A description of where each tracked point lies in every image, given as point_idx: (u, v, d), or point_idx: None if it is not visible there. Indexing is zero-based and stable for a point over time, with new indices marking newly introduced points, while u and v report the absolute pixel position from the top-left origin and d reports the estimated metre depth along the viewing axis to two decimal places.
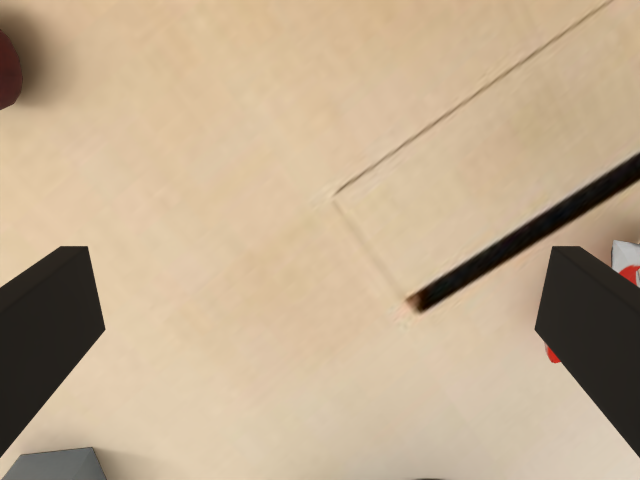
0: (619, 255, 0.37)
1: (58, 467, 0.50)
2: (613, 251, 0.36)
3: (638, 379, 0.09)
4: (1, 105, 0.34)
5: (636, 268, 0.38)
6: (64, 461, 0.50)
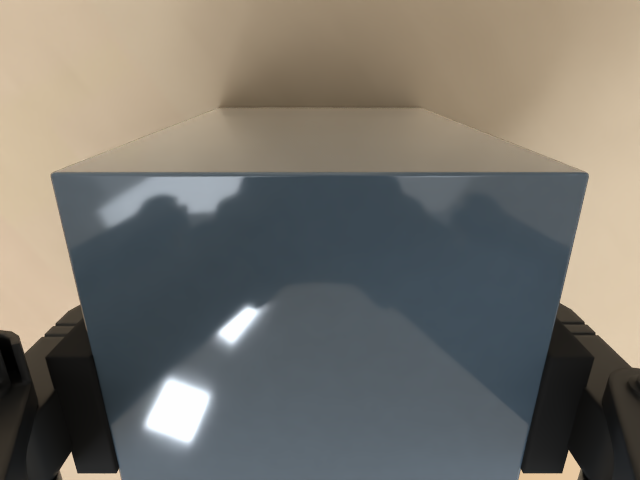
0: None
1: None
2: None
3: None
4: None
5: None
6: None
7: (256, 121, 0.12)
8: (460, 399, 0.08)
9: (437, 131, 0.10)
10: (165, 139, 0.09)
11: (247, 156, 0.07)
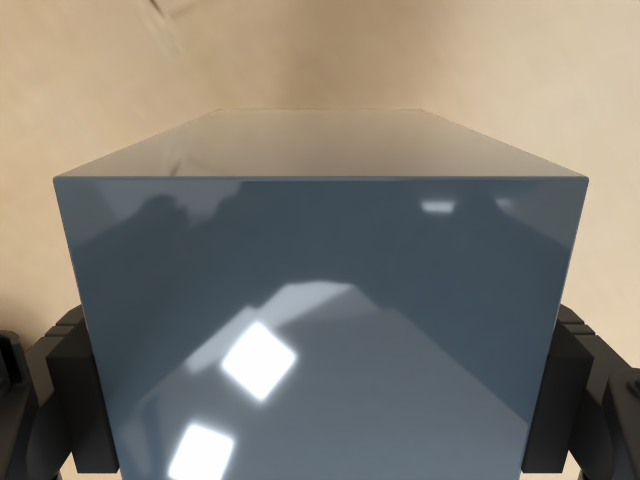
0: None
1: None
2: None
3: None
4: None
5: None
6: None
7: (257, 123, 0.12)
8: (460, 402, 0.08)
9: (437, 134, 0.10)
10: (166, 142, 0.09)
11: (248, 160, 0.07)
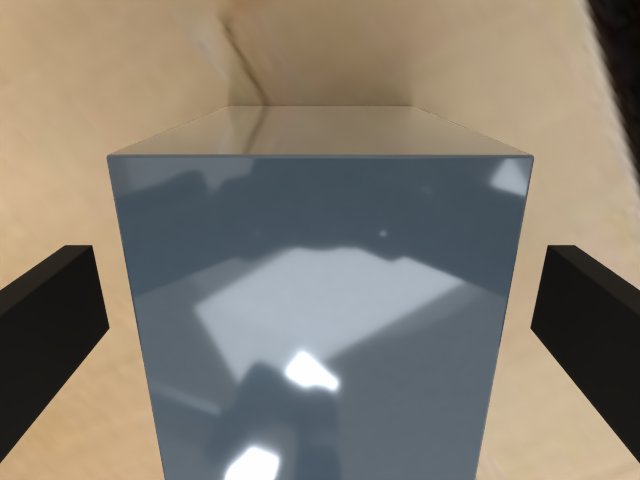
0: None
1: None
2: None
3: (631, 377, 0.09)
4: None
5: None
6: None
7: (264, 117, 0.14)
8: (436, 345, 0.09)
9: (421, 125, 0.12)
10: (189, 131, 0.11)
11: (261, 143, 0.09)
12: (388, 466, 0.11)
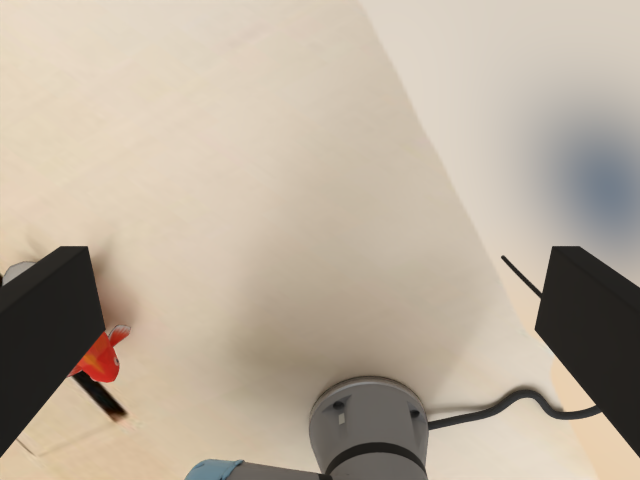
0: None
1: None
2: None
3: (638, 379, 0.09)
4: None
5: None
6: None
7: None
8: None
9: None
10: None
11: None
12: None
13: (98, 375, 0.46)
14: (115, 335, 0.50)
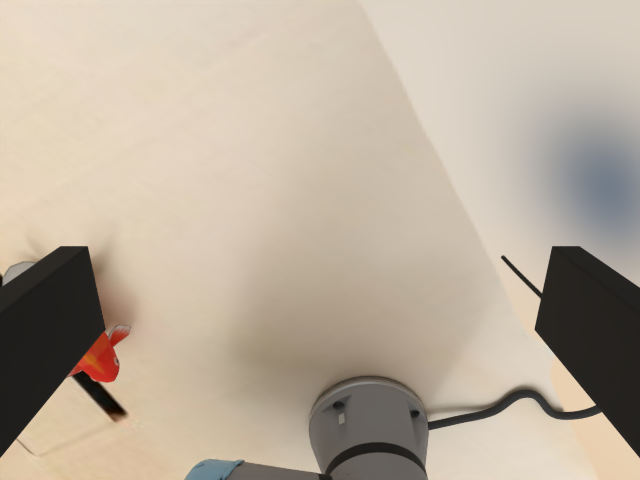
0: None
1: None
2: None
3: (638, 379, 0.09)
4: None
5: None
6: None
7: None
8: None
9: None
10: None
11: None
12: None
13: (98, 375, 0.46)
14: (115, 335, 0.50)
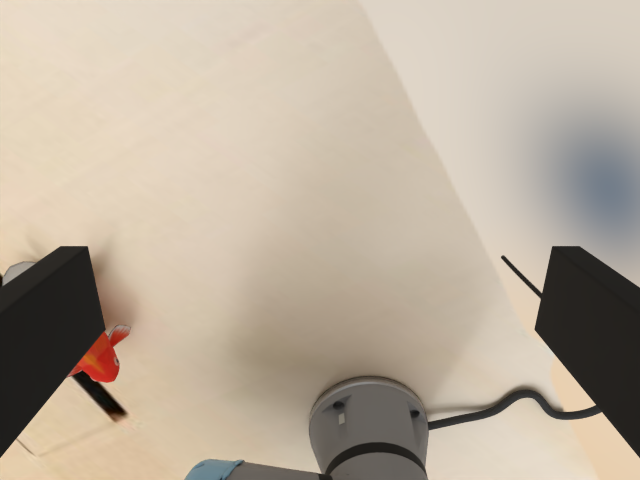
0: None
1: None
2: None
3: (638, 379, 0.09)
4: None
5: None
6: None
7: None
8: None
9: None
10: None
11: None
12: None
13: (98, 375, 0.46)
14: (115, 335, 0.50)
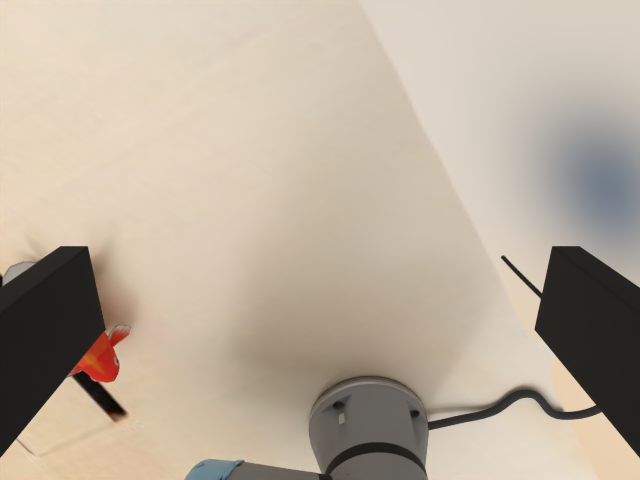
0: None
1: None
2: None
3: (638, 379, 0.09)
4: None
5: None
6: None
7: None
8: None
9: None
10: None
11: None
12: None
13: (98, 375, 0.46)
14: (115, 335, 0.50)
